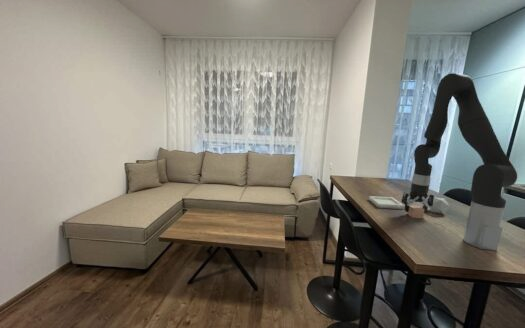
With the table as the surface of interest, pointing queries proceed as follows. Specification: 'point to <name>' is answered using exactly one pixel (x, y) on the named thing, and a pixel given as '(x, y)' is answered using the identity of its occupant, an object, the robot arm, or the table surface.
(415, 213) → the cube
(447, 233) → the table surface
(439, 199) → the die
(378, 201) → the tray
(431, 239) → the table surface
